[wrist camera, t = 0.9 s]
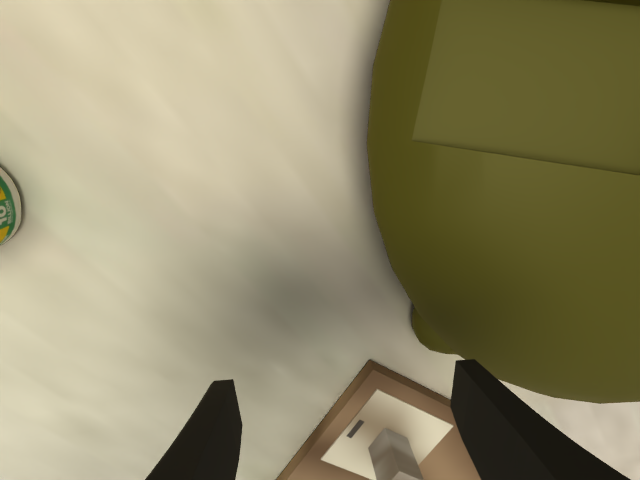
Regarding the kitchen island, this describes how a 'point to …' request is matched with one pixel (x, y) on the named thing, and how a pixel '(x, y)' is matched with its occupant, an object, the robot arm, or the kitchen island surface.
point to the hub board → (348, 404)
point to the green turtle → (515, 185)
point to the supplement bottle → (8, 208)
